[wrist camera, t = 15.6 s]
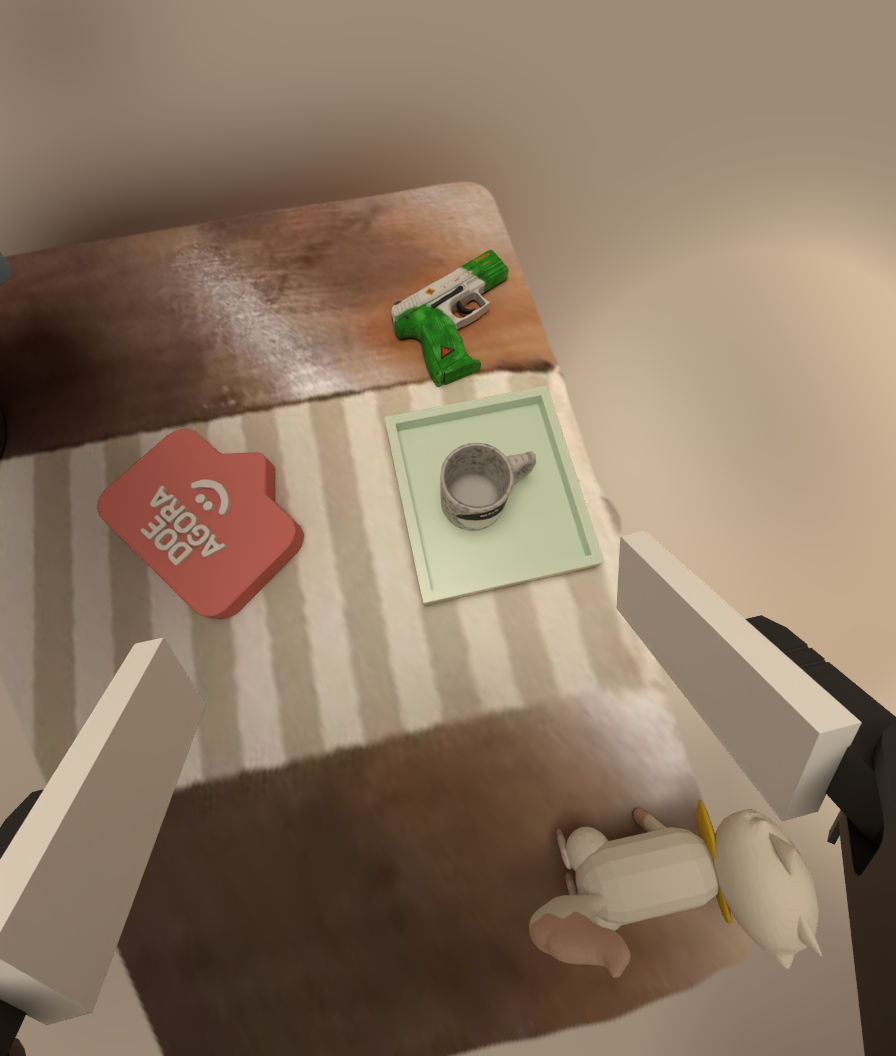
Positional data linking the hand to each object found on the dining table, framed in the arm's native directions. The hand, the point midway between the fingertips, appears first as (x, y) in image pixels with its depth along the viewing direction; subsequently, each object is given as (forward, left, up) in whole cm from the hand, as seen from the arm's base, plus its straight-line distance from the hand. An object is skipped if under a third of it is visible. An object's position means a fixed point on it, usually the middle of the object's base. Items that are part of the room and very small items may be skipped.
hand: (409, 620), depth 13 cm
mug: (-14, +9, -31) cm, 35 cm away
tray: (-14, +9, -32) cm, 36 cm away
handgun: (-35, +12, -32) cm, 49 cm away
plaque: (-17, -19, -32) cm, 41 cm away
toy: (+20, +12, -32) cm, 40 cm away
